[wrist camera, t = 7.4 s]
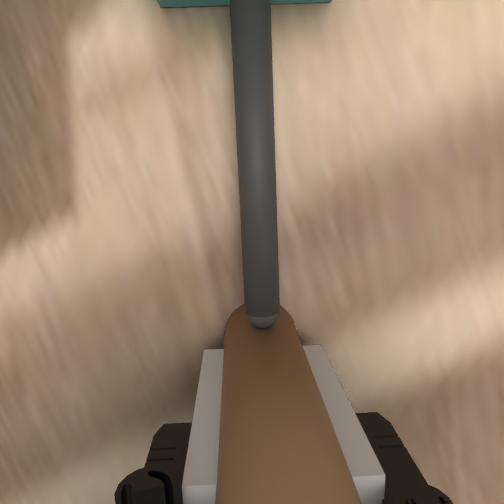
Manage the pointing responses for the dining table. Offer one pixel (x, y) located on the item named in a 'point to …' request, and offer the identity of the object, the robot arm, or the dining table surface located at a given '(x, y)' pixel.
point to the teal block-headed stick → (267, 315)
